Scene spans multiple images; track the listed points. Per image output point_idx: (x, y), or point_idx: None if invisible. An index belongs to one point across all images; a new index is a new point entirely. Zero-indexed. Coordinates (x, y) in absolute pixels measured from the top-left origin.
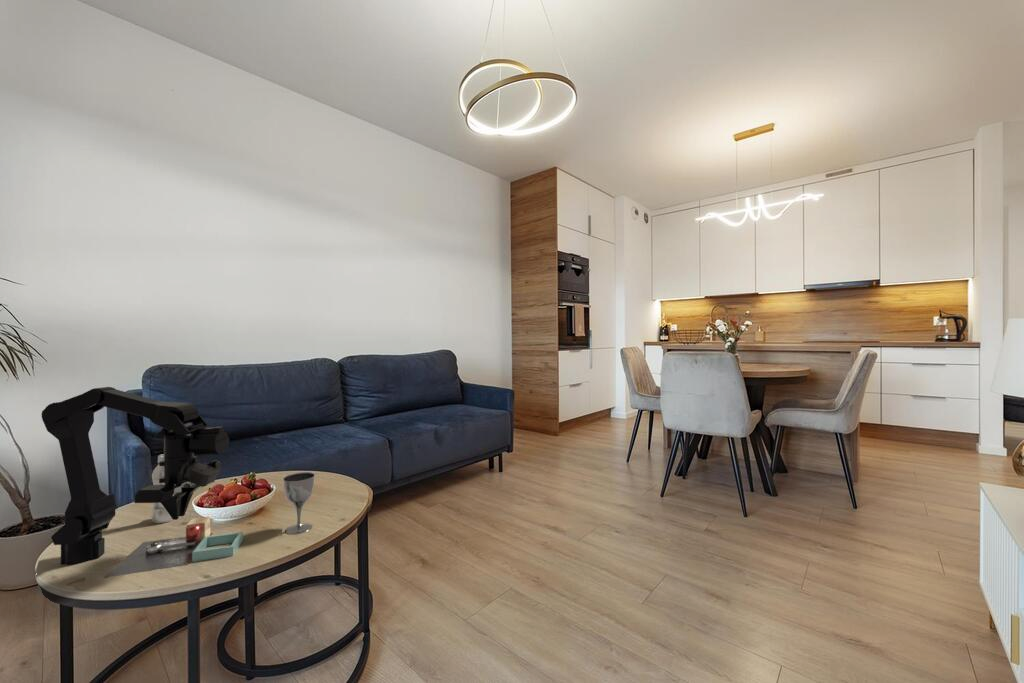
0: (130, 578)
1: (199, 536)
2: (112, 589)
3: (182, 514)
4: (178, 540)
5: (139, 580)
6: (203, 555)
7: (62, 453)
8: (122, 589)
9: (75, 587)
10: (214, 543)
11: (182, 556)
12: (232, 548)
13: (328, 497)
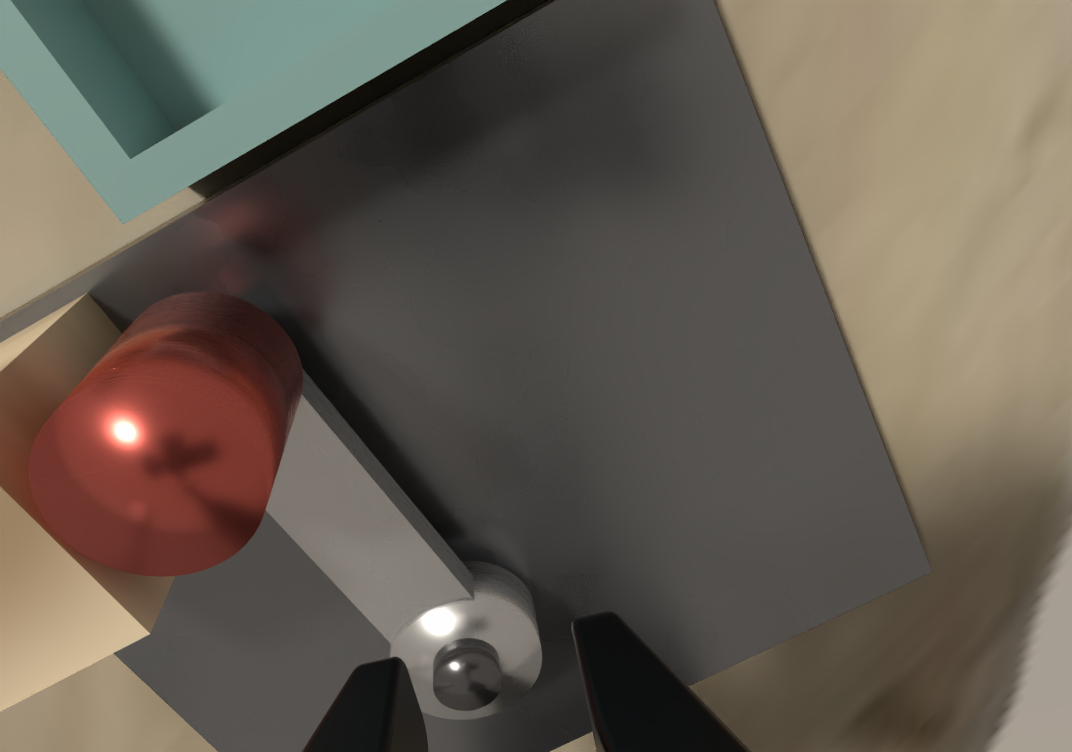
0: (880, 383)
1: (158, 315)
2: (1056, 353)
3: (402, 703)
4: (188, 615)
5: (921, 261)
6: None
7: None
8: (1069, 263)
9: (987, 648)
10: (100, 49)
11: (497, 215)
12: None
13: None
